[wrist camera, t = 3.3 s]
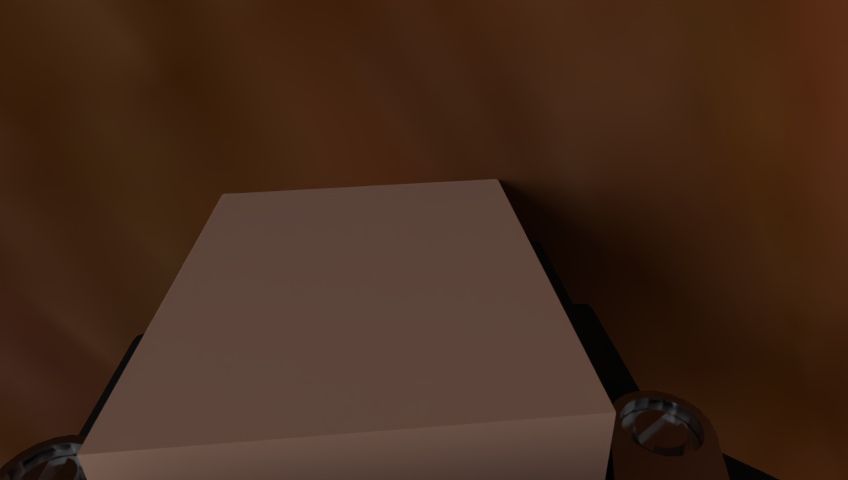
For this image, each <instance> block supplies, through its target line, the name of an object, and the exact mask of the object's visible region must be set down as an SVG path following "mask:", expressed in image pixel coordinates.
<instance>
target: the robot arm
mask: <svg viewBox="0 0 848 480" xmlns="http://www.w3.org/2000/svg"><path fill="white" fill-rule="evenodd" d="M530 244H531V246H532V248H533V250H534V252H535V254H536V256H537V258H538V260H539V262H540V264H541V266H542V268H543V269H544V271H545V273H546V275H547V277H548V279H549V281H550V283H551V285H552V287H553V289H554V291H555V293H556V295H557V297H558V299H559V301H560V303H561V305H562V307H563V309H564V311H565V313H566V315H567V317H568V319H569V321H570V323H571V325H572V327H573V329H574V330H575V332H576V334H577V336H578V338H579V340H580V342H581V344H582V346H583V348H584V350H585V352H586V354H587V356H588V358H589V360H590V362H591V364H592V366H593V368H594V370H595V372H596V374H597V376H598V378H599V380H600V382H601V384H602V386H603V388H604V389H605V391H606V393H607V395H608V397H609V399H610V401H611V403H612V405H613V407H614V409H615V411H616V416H615V422H614V428H613V434H612V440H611V446H610V452H609V458H608V465H607V471H606V477H605V480H779V479H776V478H774V477H772V476H770V475H768V474H766V473H764V472H761V471H759V470H757V469H755V468H753V467H751V466H749V465H746V464H744V463H742V462H740V461H738V460H736V459H734V458H732V457H729V456H727V455H725V454H723V453H722V451H721V448H720V445H719V441H718V438H717V435H716V432H715V430H714V428H713V426H712V424H711V422H710V420H709V419H708V418H707V417H706V416H705V415H704V414H703V413H702V412H701V411H700V410H699V409H698V408H696V407H695V406H693V405H692V404H690V403H689V402H687V401H686V400H683V399H681V398H678V397H676V396H673V395H671V394H667V393H662V392H657V391H640V390H639V388H638V387H637V385H636V383H635V381H634V380H633V378H632V376H631V375H630V373H629V371H628V369H627V368H626V366H625V364H624V363H623V361H622V359H621V357H620V356H619V354H618V352H617V351H616V349H615V347H614V345H613V344H612V342H611V340H610V339H609V337H608V335H607V333H606V332H605V330H604V328H603V327H602V325H601V323H600V321H599V320H598V318H597V316H596V315H595V313H594V311H593V309H592V308H591V307H590V306H589V305H588V304H574V305H573V303H572V301H571V299H570V297H569V295H568V293H567V292H566V290H565V288H564V286H563V284H562V282H561V280H560V279H559V277H558V275H557V273H556V271H555V269H554V268H553V266H552V264H551V262H550V260H549V258H548V256H547V255H546V253H545V251H544V249H543V247H542V245H541V244H540V242H539V241H533V242H530ZM143 336H144V334H141V335H138V336H137V337H136V338H135V339H134V340H133V342H132V343H131V345H130V347H129V349H128V350H127V352H126V354H125V356H124V357H123V359H122V361H121V362H120V364H119V366H118V368H117V369H116V371H115V373H114V375H113V376H112V378H111V380H110V382H109V383H108V385H107V387H106V388H105V390H104V392H103V394H102V395H101V397H100V399H99V401H98V402H97V404H96V406H95V407H94V409H93V411H92V413H91V414H90V416H89V418H88V420H87V421H86V423H85V425H84V427H83V428H82V430H81V432H80V433H79V435H68V436H62V437H55V438H52V439H49V440H47V441H44V442H41V443H38V444H36V445H34V446H32V447H30V448H28V449H26V450H25V451H23V452H21V453H19V454H18V455H16V456H15V457H14V458H12V459H11V460H10V461H9V462H7V463H6V464H5V465H3V466H2V468H1V469H0V480H87V478H86V476H85V474H84V471H83V469H82V466H81V464H80V462H79V459H78V457H77V454H78V452H79V450H80V448H81V446H82V445H83V443H84V441H85V439H86V438H87V436H88V434H89V432H90V430H91V429H92V427H93V425H94V423H95V421H96V420H97V418H98V416H99V414H100V413H101V411H102V409H103V407H104V405H105V404H106V402H107V400H108V398H109V396H110V395H111V393H112V391H113V389H114V387H115V386H116V384H117V382H118V380H119V379H120V377H121V375H122V373H123V371H124V370H125V368H126V366H127V364H128V362H129V361H130V359H131V357H132V355H133V354H134V352H135V350H136V348H137V346H138V345H139V343H140V341H141V339H142V337H143Z"/></svg>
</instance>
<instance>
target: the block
mask: <svg viewBox="0 0 848 480" xmlns="http://www.w3.org/2000/svg"><path fill="white" fill-rule="evenodd" d="M615 416H616V411H615V409H614V407H613V405H612V403H611V401H610V399H609V397H608V395H607V393H606V391H605V389H604V388H603V386H602V384H601V382H600V380H599V378H598V376H597V374H596V372H595V370H594V368H593V366H592V364H591V362H590V360H589V358H588V356H587V354H586V352H585V350H584V348H583V346H582V344H581V342H580V340H579V338H578V336H577V334H576V332H575V330H574V329H573V327H572V325H571V323H570V321H569V319H568V317H567V315H566V313H565V311H564V309H563V307H562V305H561V303H560V301H559V299H558V297H557V295H556V293H555V291H554V289H553V287H552V285H551V283H550V281H549V279H548V277H547V275H546V273H545V271H544V269H543V268H542V266H541V264H540V262H539V260H538V258H537V256H536V254H535V252H534V250H533V248H532V246H531V244H530V242H529V240H528V238H527V236H526V234H525V232H524V230H523V228H522V226H521V224H520V222H519V220H518V218H517V216H516V214H515V212H514V210H513V208H512V207H511V205H510V203H509V201H508V199H507V197H506V195H505V193H504V191H503V189H502V187H501V185H500V183H499V181H498V179H489V180H471V181H453V182H435V183H416V184H398V185H380V186H362V187H344V188H326V189H307V190H289V191H271V192H253V193H235V194H222V196H221V198H220V200H219V202H218V203H217V205H216V207H215V209H214V211H213V212H212V214H211V216H210V218H209V220H208V221H207V223H206V225H205V227H204V228H203V230H202V232H201V234H200V236H199V237H198V239H197V241H196V243H195V245H194V246H193V248H192V250H191V252H190V253H189V255H188V257H187V259H186V261H185V262H184V264H183V266H182V268H181V270H180V271H179V273H178V275H177V277H176V278H175V280H174V282H173V284H172V286H171V287H170V289H169V291H168V293H167V295H166V296H165V298H164V300H163V302H162V303H161V305H160V307H159V309H158V311H157V312H156V314H155V316H154V318H153V320H152V321H151V323H150V325H149V327H148V329H147V330H146V332H145V334H144V336H143V337H142V339H141V341H140V343H139V345H138V346H137V348H136V350H135V352H134V354H133V355H132V357H131V359H130V361H129V362H128V364H127V366H126V368H125V370H124V371H123V373H122V375H121V377H120V379H119V380H118V382H117V384H116V386H115V387H114V389H113V391H112V393H111V395H110V396H109V398H108V400H107V402H106V404H105V405H104V407H103V409H102V411H101V413H100V414H99V416H98V418H97V420H96V421H95V423H94V425H93V427H92V429H91V430H90V432H89V434H88V436H87V438H86V439H85V441H84V443H83V445H82V446H81V448H80V450H79V452H78V454H77V457H78V459H79V462H80V464H81V466H82V469H83V471H84V474H85V476H86V478H87V480H605V477H606V471H607V465H608V458H609V452H610V446H611V440H612V434H613V428H614V422H615Z"/></svg>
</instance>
